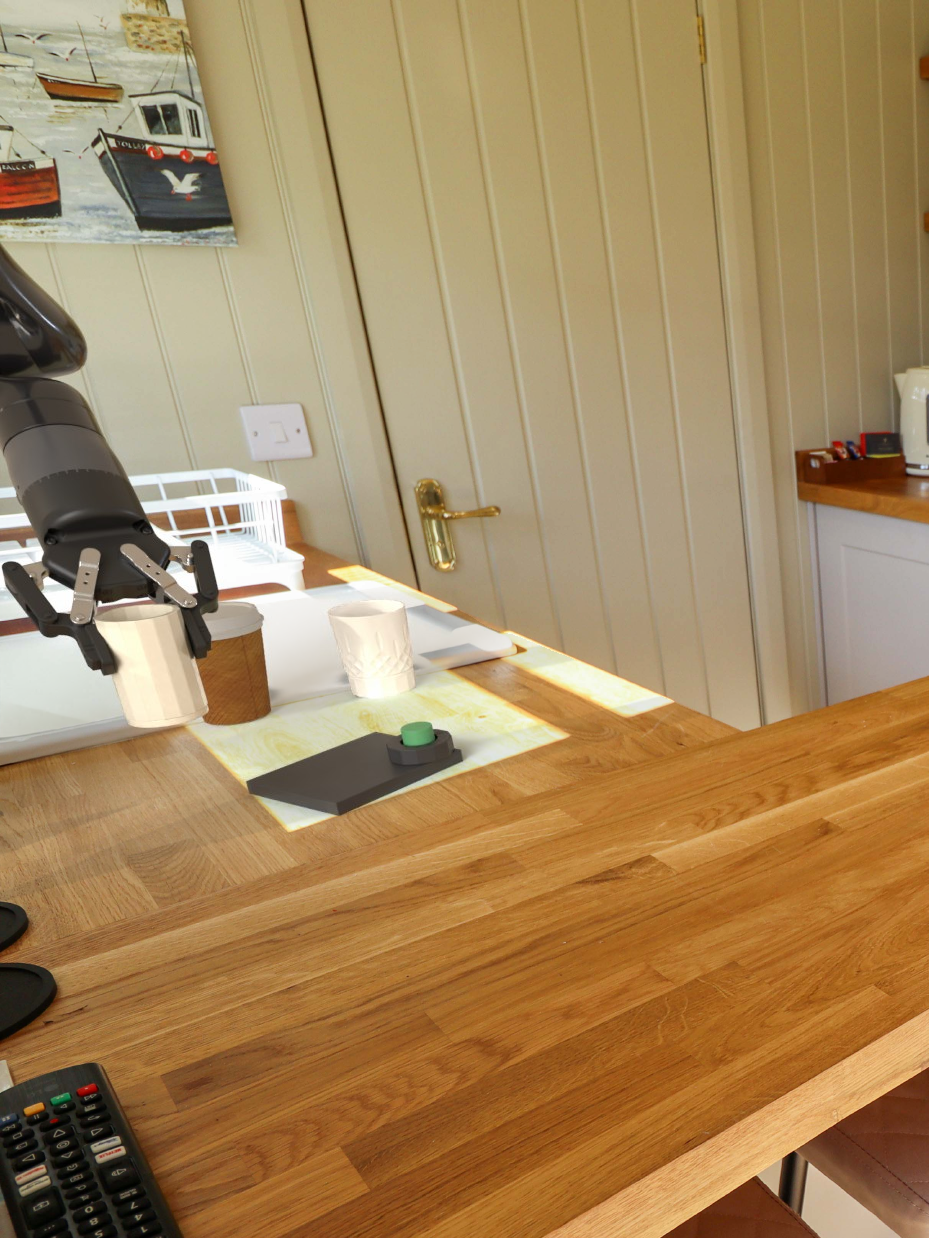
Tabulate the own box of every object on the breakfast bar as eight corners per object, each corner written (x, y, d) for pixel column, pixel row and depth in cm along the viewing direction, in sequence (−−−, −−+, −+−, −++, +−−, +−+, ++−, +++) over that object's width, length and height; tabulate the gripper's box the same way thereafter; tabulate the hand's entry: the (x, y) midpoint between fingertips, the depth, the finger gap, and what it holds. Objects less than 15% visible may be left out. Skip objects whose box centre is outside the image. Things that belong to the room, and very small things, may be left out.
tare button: (418, 749, 107) (414, 733, 107) (397, 745, 108) (393, 728, 108) (441, 739, 110) (438, 723, 109) (421, 735, 111) (417, 719, 110)
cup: (156, 732, 89) (122, 625, 85) (111, 721, 91) (76, 616, 87) (224, 710, 94) (195, 608, 90) (180, 701, 95) (150, 600, 92)
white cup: (401, 701, 127) (382, 618, 123) (333, 700, 127) (312, 617, 123) (433, 679, 134) (417, 600, 130) (369, 678, 134) (351, 599, 130)
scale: (342, 817, 99) (334, 787, 98) (249, 794, 103) (240, 765, 102) (469, 761, 112) (463, 733, 110) (381, 742, 116) (375, 716, 114)
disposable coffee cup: (180, 713, 122) (147, 609, 118) (278, 695, 128) (251, 595, 123) (193, 738, 116) (160, 629, 111) (296, 717, 122) (269, 613, 117)
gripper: (-44, 474, 84) (39, 656, 81) (180, 458, 94) (260, 620, 91) (-30, 533, 89) (48, 705, 87) (180, 512, 99) (256, 666, 97)
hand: (156, 661), depth 89 cm, fingers closed on cup, 5 cm apart
